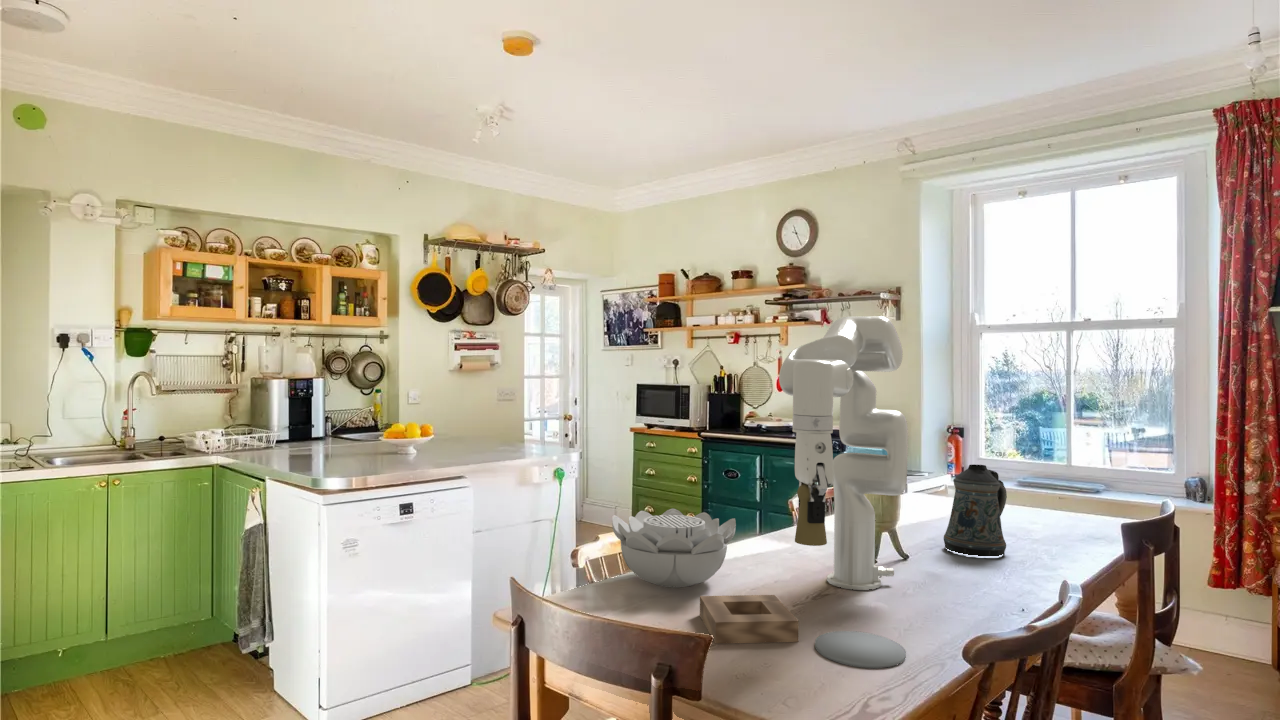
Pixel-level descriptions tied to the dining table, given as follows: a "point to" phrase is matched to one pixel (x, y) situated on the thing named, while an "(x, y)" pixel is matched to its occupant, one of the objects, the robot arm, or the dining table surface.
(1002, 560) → the dining table surface
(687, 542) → the decorative bowl
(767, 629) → the walnut holder
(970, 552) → the beer stein
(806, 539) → the cork
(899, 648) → the slate mat
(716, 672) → the dining table surface
